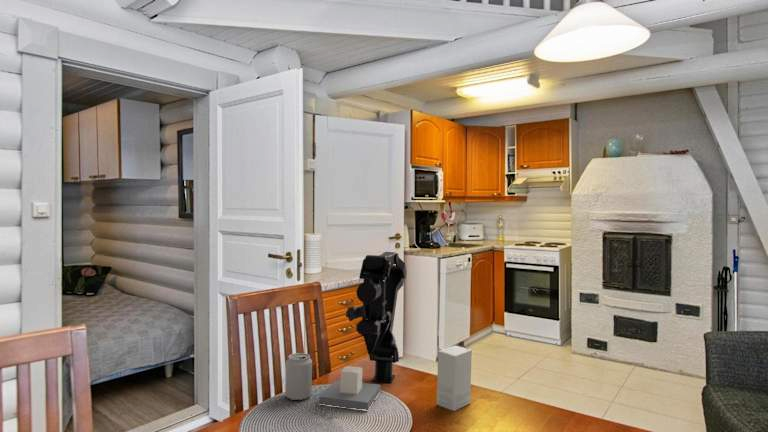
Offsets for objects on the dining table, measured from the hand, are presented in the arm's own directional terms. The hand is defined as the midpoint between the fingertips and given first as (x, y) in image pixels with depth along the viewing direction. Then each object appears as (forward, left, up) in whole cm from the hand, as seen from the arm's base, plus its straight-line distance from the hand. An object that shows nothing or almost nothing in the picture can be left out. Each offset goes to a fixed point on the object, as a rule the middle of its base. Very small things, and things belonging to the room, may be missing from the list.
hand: (374, 349), depth 138 cm
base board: (+6, -5, -13) cm, 15 cm away
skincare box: (+1, +24, -13) cm, 27 cm away
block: (+6, -5, -10) cm, 13 cm away
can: (+9, -20, -13) cm, 26 cm away
